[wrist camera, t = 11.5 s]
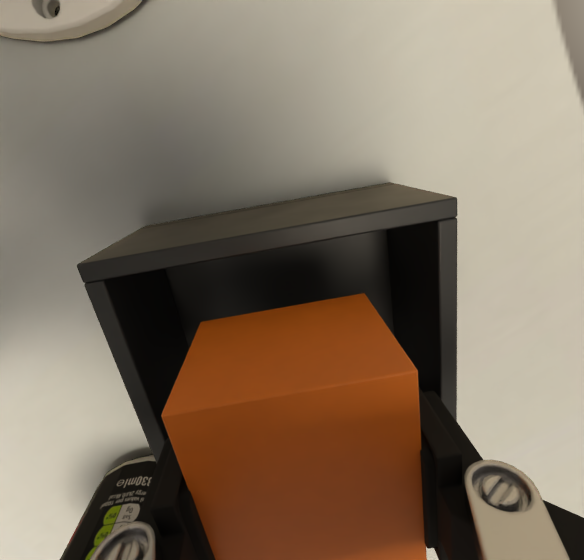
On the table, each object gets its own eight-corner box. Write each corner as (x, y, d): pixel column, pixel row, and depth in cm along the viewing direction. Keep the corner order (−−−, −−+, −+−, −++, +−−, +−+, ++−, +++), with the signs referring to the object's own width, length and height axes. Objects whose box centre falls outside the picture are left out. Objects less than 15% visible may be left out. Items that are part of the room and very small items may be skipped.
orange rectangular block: (200, 321, 10) (159, 415, 7) (364, 292, 10) (418, 369, 7) (248, 489, 13) (238, 629, 9) (382, 465, 13) (428, 596, 9)
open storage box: (143, 225, 15) (74, 264, 10) (391, 181, 15) (458, 196, 10) (206, 421, 19) (181, 527, 14) (403, 386, 19) (456, 478, 14)
